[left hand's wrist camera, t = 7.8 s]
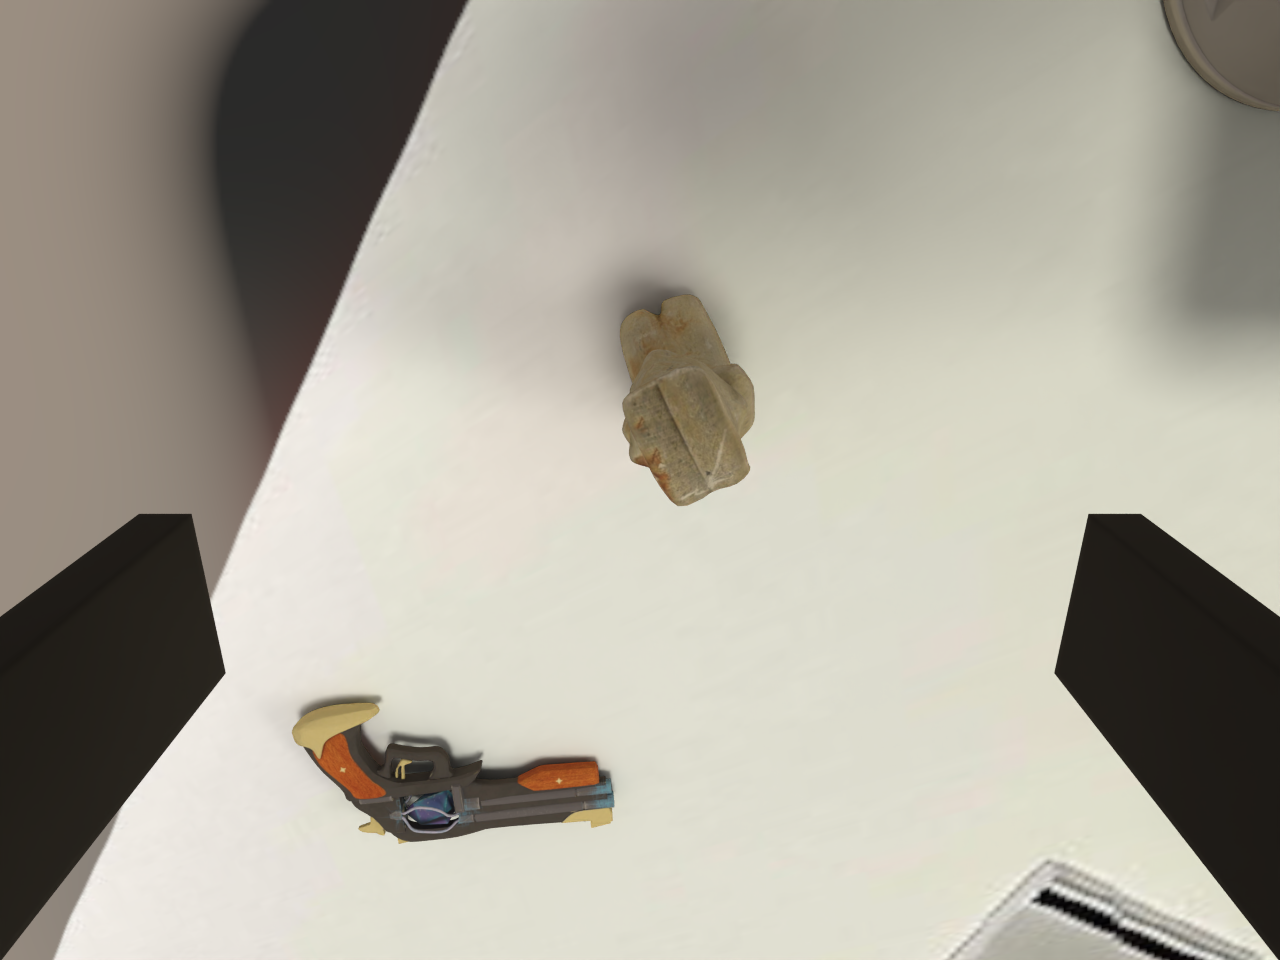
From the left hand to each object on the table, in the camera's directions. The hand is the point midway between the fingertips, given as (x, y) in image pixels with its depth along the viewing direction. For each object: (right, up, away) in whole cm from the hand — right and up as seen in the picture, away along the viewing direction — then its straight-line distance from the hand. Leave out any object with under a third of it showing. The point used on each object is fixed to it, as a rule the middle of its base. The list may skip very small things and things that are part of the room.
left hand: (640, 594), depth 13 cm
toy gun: (-11, -16, +41) cm, 46 cm away
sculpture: (+2, +8, +32) cm, 33 cm away
